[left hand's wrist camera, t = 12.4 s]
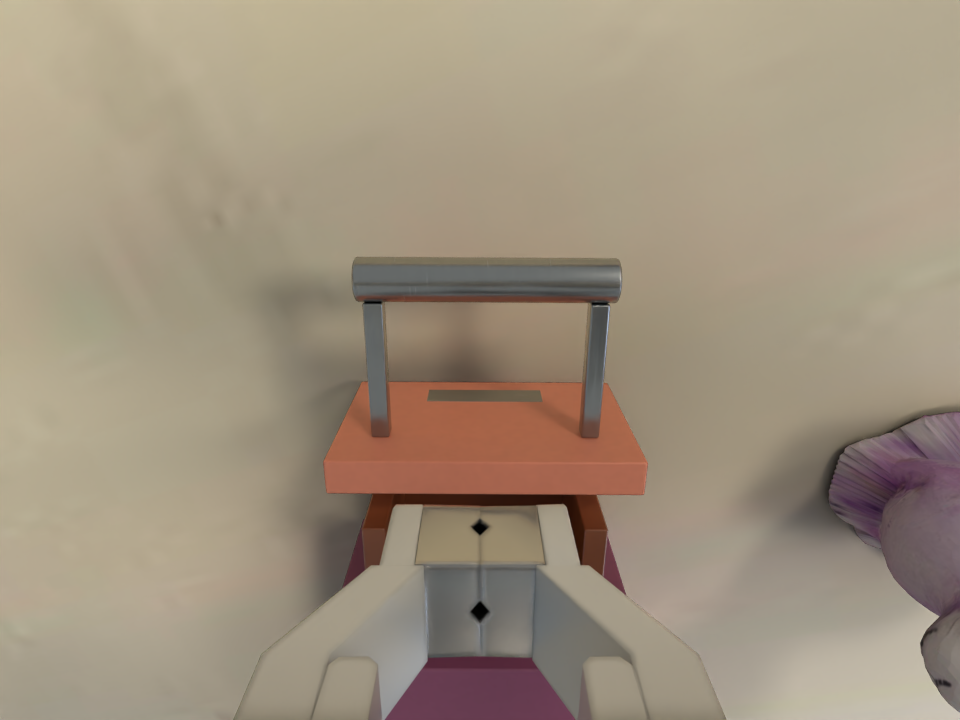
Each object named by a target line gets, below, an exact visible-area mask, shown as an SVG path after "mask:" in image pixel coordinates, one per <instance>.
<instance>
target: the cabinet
mask: <svg viewBox="0 0 960 720" xmlns="http://www.w3.org/2000/svg"><path fill="white" fill-rule="evenodd" d="M364 520H365V519H364ZM364 520H363V523H364ZM363 523H362V526H361V529H360V533H359V535H358V538H357V542H356V545H355V548H354V551H353V555H352V558H351V561H350V565H349V568H348V571H347V574H346V578H345V581H344V584H343V587H342V588H344V587H345V586H346V585H347V584H349V583H350V582H351V581H352V580H354V579H355V578H356V577H357V576H359V575H360V574H361V573H362V572H364V571H365V564H364V552H363V539H362V527H363ZM603 577H604V578H605V579H606V580H608V581H609V582H610V583H611V584H613V585H614V586H615V587H616V588H617V589H619V590H620V591H621V592H622V593H624V594H625V595H626V593H625V590H624V587H623V584H622V580H621V577H620V574H619V571H618V568H617V564H616V561H615V558H614V555H613V552H612V549H611V545H610V542H609V539H608V536H607V546H606V556H605V566H604V576H603ZM385 720H575V718H574V717H573V715H572V714H571V713H570V711H569V710H568V709H567V707H566V706H565V704H564V703H563V702H562V700H561V699H560V698H559V696H558V695H557V693H556V692H555V691H554V689H553V688H552V687H551V685H550V684H549V683H548V681H547V680H546V678H545V677H544V676H543V674H542V673H541V672H540V670H539V669H538V667H537V666H536V665H535V663H534V662H533V661H532V658H518V657H483V656H475V657H441V658H428V661H427V663H426V664H425V665H424V667H423V668H422V669H421V671H420V672H419V674H418V675H417V676H416V678H415V679H414V680H413V682H412V683H411V684H410V686H409V687H408V689H407V690H406V691H405V693H404V694H403V695H402V697H401V698H400V699H399V701H398V702H397V704H396V705H395V706H394V708H393V709H392V710H391V712H390V713H389V714H388V716H387V717H386V719H385Z"/></svg>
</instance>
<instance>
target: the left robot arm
mask: <svg viewBox="0 0 960 720" xmlns="http://www.w3.org/2000/svg"><path fill="white" fill-rule="evenodd" d="M475 656H483V657H518V658H532V661H533V662H534V663H535V665H536V666H537V667H538V669H539V670H540V672H541V673H542V674H543V676H544V677H545V678H546V680H547V681H548V683H549V684H550V685H551V687H552V688H553V689H554V691H555V692H556V693H557V695H558V696H559V698H560V699H561V700H562V702H563V703H564V704H565V706H566V707H567V709H568V710H569V711H570V713H571V714H572V715H573V717H574V718H575V720H726V717H725V715H724V713H723V710H722V708H721V706H720V703H719V701H718V698H717V696H716V694H715V691H714V689H713V687H712V684H711V682H710V679H709V677H708V675H707V672H706V670H705V668H704V665H703V663H702V660H701V658H700V656H699V654H697V653H696V652H695V651H694V650H692V649H691V648H690V647H689V646H688V645H686V644H685V643H684V642H683V641H681V640H680V639H679V638H678V637H676V636H675V635H674V634H673V633H672V632H670V631H669V630H668V629H667V628H665V627H664V626H663V625H662V624H660V623H659V622H658V621H657V620H656V619H654V618H653V617H652V616H651V615H649V614H648V613H647V612H646V611H645V610H643V609H642V608H641V607H640V606H638V605H637V604H636V603H635V602H633V601H632V600H631V599H630V598H629V597H627V596H626V595H625V594H624V593H622V592H621V591H620V590H619V589H617V588H616V587H615V586H614V585H613V584H611V583H610V582H609V581H608V580H606V579H605V578H604V577H603V576H601V575H600V574H599V573H598V572H597V571H595V570H594V569H593V568H592V567H590V566H589V565H580V561H579V557H578V552H577V548H576V544H575V540H574V536H573V532H572V527H571V523H570V519H569V515H568V511H567V507H566V506H565V505H564V504H550V505H536V506H470V505H424V506H423V505H422V504H396V505H395V507H394V508H393V510H392V514H391V518H390V523H389V527H388V531H387V535H386V540H385V544H384V548H383V552H382V557H381V561H380V565H371V566H370V567H368V568H367V569H366V570H365V571H364V572H362V573H361V574H360V575H359V576H357V577H356V578H355V579H354V580H352V581H351V582H350V583H349V584H347V585H346V586H345V587H344V588H342V589H341V590H340V591H339V592H338V593H336V594H335V595H334V596H333V597H331V598H330V599H329V600H328V601H326V602H325V603H324V604H323V605H321V606H320V607H319V608H318V609H317V610H315V611H314V612H313V613H312V614H310V615H309V616H308V617H307V618H305V619H304V620H303V621H302V622H300V623H299V624H298V625H297V626H295V627H294V628H293V629H292V630H291V631H289V632H288V633H287V634H286V635H284V636H283V637H282V638H281V639H279V640H278V641H277V642H276V643H274V644H273V645H272V646H271V647H270V648H268V649H267V650H266V651H265V652H263V653H262V654H261V657H260V659H259V661H258V664H257V666H256V668H255V671H254V673H253V675H252V678H251V680H250V682H249V685H248V687H247V689H246V692H245V694H244V696H243V699H242V701H241V703H240V706H239V708H238V710H237V713H236V715H235V717H234V720H385V719H386V717H387V716H388V714H389V713H390V712H391V710H392V709H393V708H394V706H395V705H396V704H397V702H398V701H399V699H400V698H401V697H402V695H403V694H404V693H405V691H406V690H407V689H408V687H409V686H410V684H411V683H412V682H413V680H414V679H415V678H416V676H417V675H418V674H419V672H420V671H421V669H422V668H423V667H424V665H425V664H426V663H427V661H428V658H441V657H475Z"/></svg>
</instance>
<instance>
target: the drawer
mask: <svg viewBox="0 0 960 720" xmlns="http://www.w3.org/2000/svg"><path fill="white" fill-rule="evenodd" d="M621 288H622V268H621V264H620V261H619V259H617V258H456V257H356V258H355V259H354V262H353V266H352V289H353V295H354V298H355V300H356V301H358V302H364V303H363V318H364V332H365V347H366V361H367V376H368V382H361V385H360V387H359V389H358V391H357V393H356V395H355V397H354V399H353V401H352V403H351V405H350V407H349V409H348V411H347V414H346V416H345V418H344V420H343V422H342V424H341V426H340V428H339V430H338V432H337V434H336V436H335V438H334V440H333V443H332V445H331V447H330V449H329V451H328V453H327V455H326V457H325V459H324V461H323V465H324V475H325V484H326V492H327V493H365V494H372V497H371V500H370V503H369V507H368V510H367V513H366V517H365V520H364V523H363V527H362V539H363V552H364V564H365V570H366V569H367V568H368V567H370V566H371V565H380V561H381V557H382V552H383V548H384V544H385V540H386V535H387V531H388V527H389V523H390V518H391V514H392V510H393V508H394V507H395V505H396V504H422V505H423V506H424V505H470V506H536V505H550V504H564V505H565V506H566V507H567V511H568V515H569V519H570V523H571V527H572V532H573V536H574V540H575V544H576V548H577V552H578V557H579V561H580V565H589V566H590V567H592V568H593V569H594V570H595V571H597V572H598V573H599V574H600V575H601V576H604V566H605V556H606V546H607V535H608V529H607V526H606V523H605V520H604V516H603V513H602V510H601V507H600V504H599V501H598V498H597V495H644V492H645V483H646V475H647V467H648V463H647V461H646V459H645V457H644V455H643V453H642V451H641V449H640V447H639V445H638V443H637V441H636V439H635V437H634V435H633V433H632V431H631V429H630V427H629V425H628V423H627V421H626V419H625V417H624V415H623V413H622V411H621V409H620V407H619V405H618V403H617V401H616V400H615V398H614V396H613V394H612V392H611V390H610V388H609V386H608V384H607V383H604V372H605V360H606V349H607V337H608V326H609V314H610V305H609V304H608V303H616V302H618V300H619V297H620V294H621ZM385 302H491V303H588V312H587V325H586V339H585V353H584V366H583V380H582V383H507V382H389V372H388V353H387V335H386V317H385Z"/></svg>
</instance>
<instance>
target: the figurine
mask: <svg viewBox="0 0 960 720" xmlns="http://www.w3.org/2000/svg"><path fill="white" fill-rule="evenodd" d="M836 467H837V469H836V470H835V471H834V472H835V474H834V475H833V478H834V479H833V480H832V481H831V482H832V484H831V485H830V489H829V498H828V499H829V501H830V504H829V505H830V507H831V508H832V510H833V511H834V513H835V514H836V515H837V516H838V517H839V518H841V519H842V520H843V521H845V522H847V523H849V524H851V525H853V526H855V528H854V529H855V531H856V533H857V536H858V537H859V538H860V539H861V540H862V541H863V542H864V543H865V544H868V545H871V546H873V547H877V548H880V549H882V551H883V554H884V556H885V559H886V563H887V566H888V568H889V570H890V572H891V574H892V575H893V577H894V579H895V580H896V581H897V582H898V583H899V585H900V586H901V587H902V588H903V589H904V590H905V591H906V592H907V593H908V594H909V595H910V596H912V597H913V598H914V599H915V600H916V601H918V602H919V603H920V604H922V605H923V606H925V607H926V608H927V609H929V610H930V611H932V612H933V613H935V614H937V615H938V616H940V617H939V618H938V619H937V620H936V621H935V622H934V623H933V624H932V625H931V626H930V627H929V628H928V629H927V630H926V632H925V634H924V636H923V638H922V640H921V642H920V645H921V654H922V656H923V658H924V663H925V667H926V669H927V671H928V673H929V675H930V677H931V679H932V681H933V683H934V684H935V686H936V687H937V688H938V690H939V692H940V694H941V695H942V696H943V698H944V699H945V700H946V701H947V702H948V703H949V704H950V705H951V706H952V707H953V708H955V709H956V710H957V711H958V712H960V412H950V413H943V414H938V415H931V416H927V415H924V416H923V417H921V418H920V419H918V420H915V421H913V422H911V423H908V424H906V425H904V426H902V427H900V428H898V429H896V430H894V431H893V432H892V433H886V434H884V435H882V436H878V437H872V438H870V439H864V440H861V441H859V442H857V443H854V444H852V445H849V446H848V447H846V448H845V451H844V453H842V454H841V455H840V459H839V460H838V464H837V465H836Z"/></svg>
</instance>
